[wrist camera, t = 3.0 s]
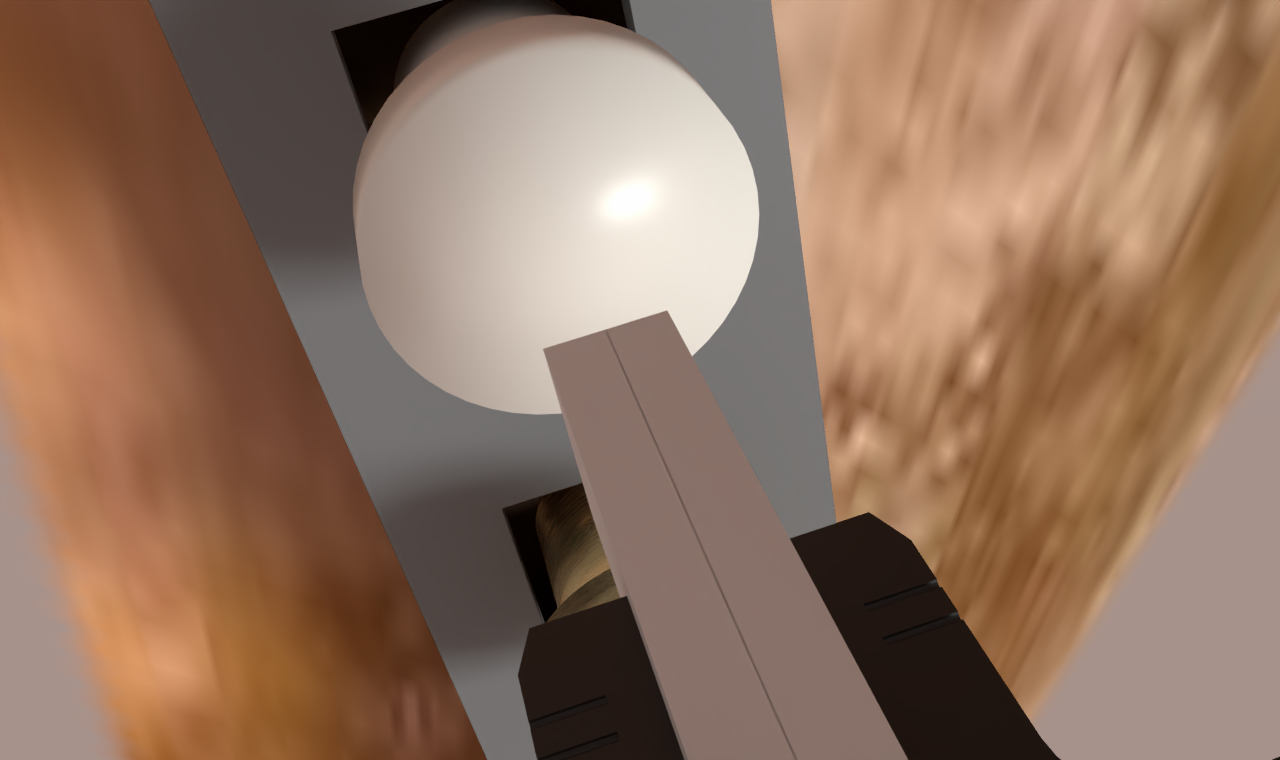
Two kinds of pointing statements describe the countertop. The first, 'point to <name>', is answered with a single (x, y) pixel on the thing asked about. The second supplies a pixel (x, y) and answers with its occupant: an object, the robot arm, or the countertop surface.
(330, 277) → the console
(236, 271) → the countertop surface
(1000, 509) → the countertop surface
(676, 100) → the knob near arm
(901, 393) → the countertop surface
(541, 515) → the brass knob
